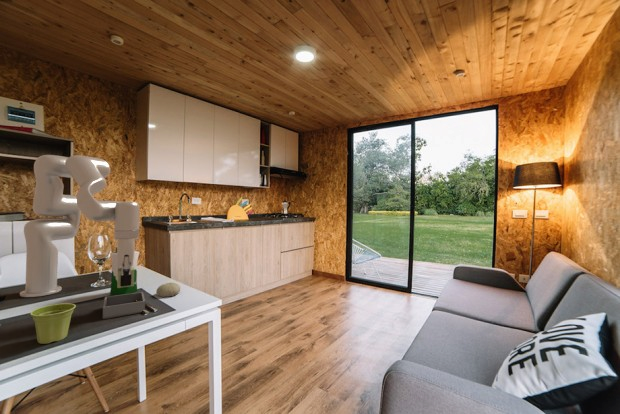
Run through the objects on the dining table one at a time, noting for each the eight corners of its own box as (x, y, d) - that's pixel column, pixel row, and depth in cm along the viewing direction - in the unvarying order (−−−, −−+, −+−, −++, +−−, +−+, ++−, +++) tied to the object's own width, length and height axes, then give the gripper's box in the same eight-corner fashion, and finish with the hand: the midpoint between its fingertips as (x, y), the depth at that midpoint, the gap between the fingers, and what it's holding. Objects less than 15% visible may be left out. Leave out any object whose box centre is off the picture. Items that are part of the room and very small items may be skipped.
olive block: (117, 284, 99) (117, 268, 99) (133, 282, 102) (133, 267, 102) (117, 288, 95) (117, 271, 95) (134, 285, 98) (134, 269, 98)
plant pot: (49, 331, 81) (50, 302, 81) (82, 331, 82) (83, 303, 82) (18, 347, 72) (19, 315, 72) (56, 347, 73) (57, 315, 73)
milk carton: (124, 289, 122) (125, 245, 122) (141, 291, 120) (142, 246, 120) (106, 295, 114) (107, 248, 113) (123, 297, 112) (125, 249, 112)
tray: (104, 307, 100) (104, 296, 100) (142, 301, 107) (143, 291, 107) (102, 319, 90) (103, 307, 90) (144, 312, 97) (145, 301, 97)
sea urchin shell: (151, 290, 116) (165, 275, 120) (164, 300, 120) (177, 285, 124) (158, 295, 110) (173, 279, 114) (172, 305, 114) (186, 289, 118)
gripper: (114, 233, 104) (113, 279, 104) (113, 237, 90) (112, 291, 90) (137, 232, 108) (136, 277, 108) (140, 236, 94) (138, 288, 94)
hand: (125, 283), depth 99 cm, fingers closed on olive block, 5 cm apart
